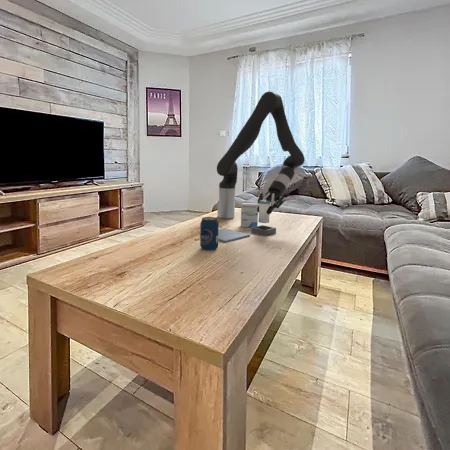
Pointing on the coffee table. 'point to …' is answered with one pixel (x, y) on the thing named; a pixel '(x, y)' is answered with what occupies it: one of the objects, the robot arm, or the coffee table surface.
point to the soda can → (209, 233)
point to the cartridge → (263, 211)
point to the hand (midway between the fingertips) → (263, 212)
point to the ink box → (249, 215)
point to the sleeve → (263, 230)
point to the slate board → (230, 235)
